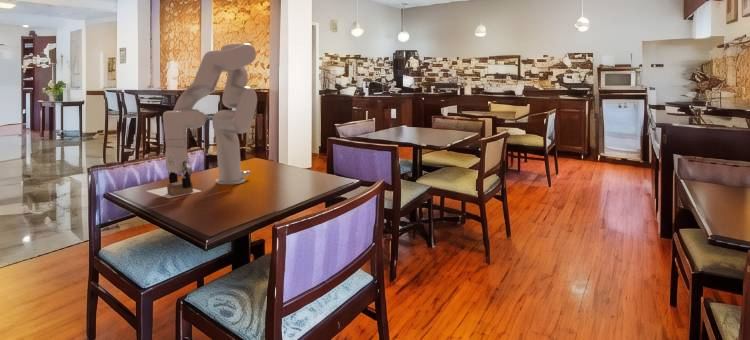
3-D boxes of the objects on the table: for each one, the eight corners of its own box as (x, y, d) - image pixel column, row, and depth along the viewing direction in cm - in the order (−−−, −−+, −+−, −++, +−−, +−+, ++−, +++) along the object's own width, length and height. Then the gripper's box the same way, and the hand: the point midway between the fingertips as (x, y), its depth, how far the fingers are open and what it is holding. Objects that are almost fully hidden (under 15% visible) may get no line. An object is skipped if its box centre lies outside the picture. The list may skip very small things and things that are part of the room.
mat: (178, 185, 195) (178, 184, 195) (202, 192, 184) (202, 190, 184) (145, 192, 184) (145, 190, 184) (168, 199, 173) (168, 198, 173)
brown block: (167, 193, 179) (166, 184, 178) (186, 190, 185) (186, 180, 185) (173, 195, 177) (172, 185, 176) (192, 191, 183) (192, 182, 182)
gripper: (155, 142, 179) (160, 184, 183) (178, 146, 169) (183, 191, 172) (173, 140, 185) (177, 181, 189) (197, 143, 175) (201, 187, 178)
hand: (180, 185), depth 181 cm, fingers open, 9 cm apart
